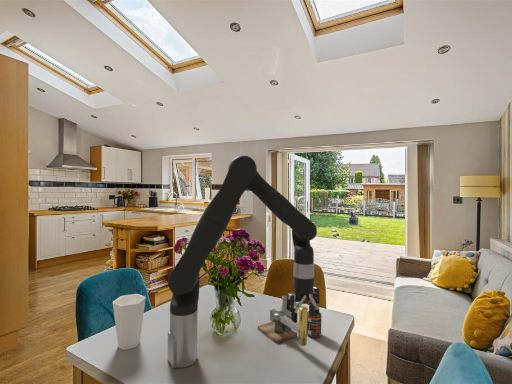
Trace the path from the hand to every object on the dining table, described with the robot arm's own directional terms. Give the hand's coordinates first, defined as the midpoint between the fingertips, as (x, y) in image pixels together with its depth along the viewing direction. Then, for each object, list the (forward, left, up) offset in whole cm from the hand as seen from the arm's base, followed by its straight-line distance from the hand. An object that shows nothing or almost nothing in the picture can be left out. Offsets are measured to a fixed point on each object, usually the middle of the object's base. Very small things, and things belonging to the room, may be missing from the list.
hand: (303, 318), depth 100 cm
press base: (0, +16, -12) cm, 20 cm away
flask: (+11, +23, -12) cm, 28 cm away
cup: (-52, +39, -12) cm, 66 cm away
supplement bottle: (+12, +6, -12) cm, 18 cm away
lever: (0, +9, -9) cm, 13 cm away
